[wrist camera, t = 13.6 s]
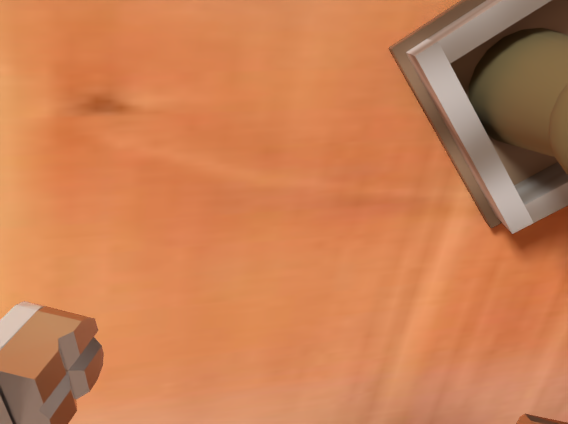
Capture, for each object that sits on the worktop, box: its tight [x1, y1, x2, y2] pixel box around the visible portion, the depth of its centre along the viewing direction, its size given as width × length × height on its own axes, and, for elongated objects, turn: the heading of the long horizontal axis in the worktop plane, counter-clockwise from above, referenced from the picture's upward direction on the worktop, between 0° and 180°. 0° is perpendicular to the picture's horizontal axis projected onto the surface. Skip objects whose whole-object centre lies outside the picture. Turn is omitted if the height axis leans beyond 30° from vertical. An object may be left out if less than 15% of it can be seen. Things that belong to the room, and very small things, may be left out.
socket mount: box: [389, 0, 568, 234], centre depth 25 cm, size 12×12×4 cm
